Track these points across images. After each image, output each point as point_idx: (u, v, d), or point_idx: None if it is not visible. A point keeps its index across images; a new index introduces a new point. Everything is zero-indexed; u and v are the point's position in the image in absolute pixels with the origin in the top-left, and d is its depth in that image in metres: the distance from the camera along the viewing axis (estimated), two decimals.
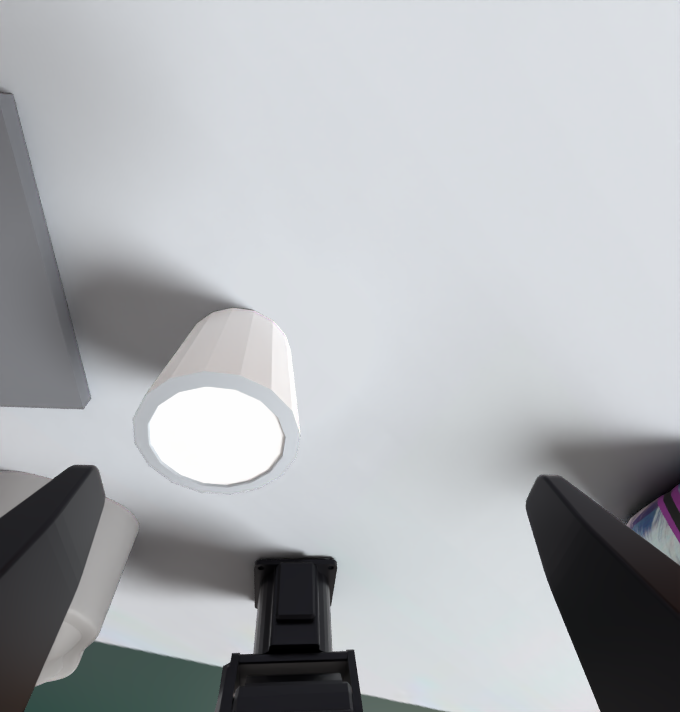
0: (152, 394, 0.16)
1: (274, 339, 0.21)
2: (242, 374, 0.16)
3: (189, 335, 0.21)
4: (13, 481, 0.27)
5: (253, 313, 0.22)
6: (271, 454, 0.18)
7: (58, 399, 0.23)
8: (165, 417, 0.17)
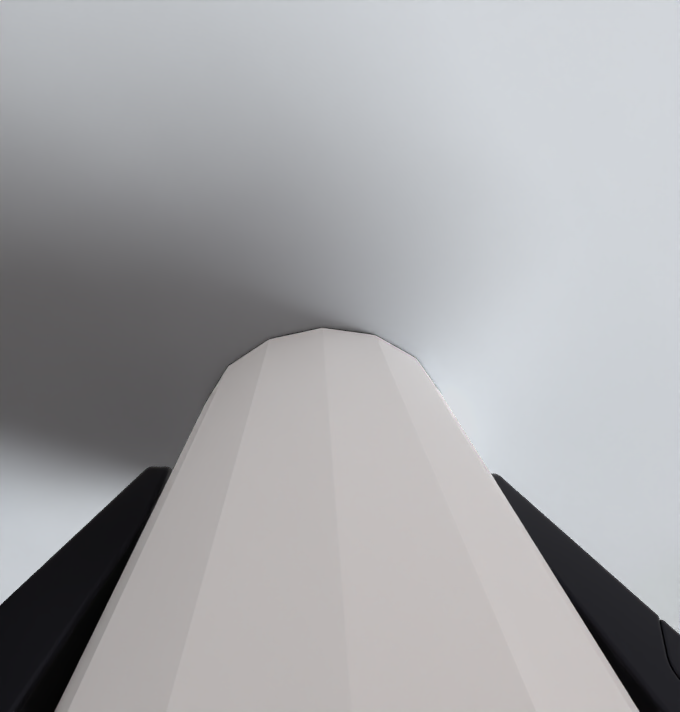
0: None
1: (456, 423, 0.07)
2: None
3: (212, 410, 0.07)
4: None
5: (379, 345, 0.08)
6: None
7: None
8: None
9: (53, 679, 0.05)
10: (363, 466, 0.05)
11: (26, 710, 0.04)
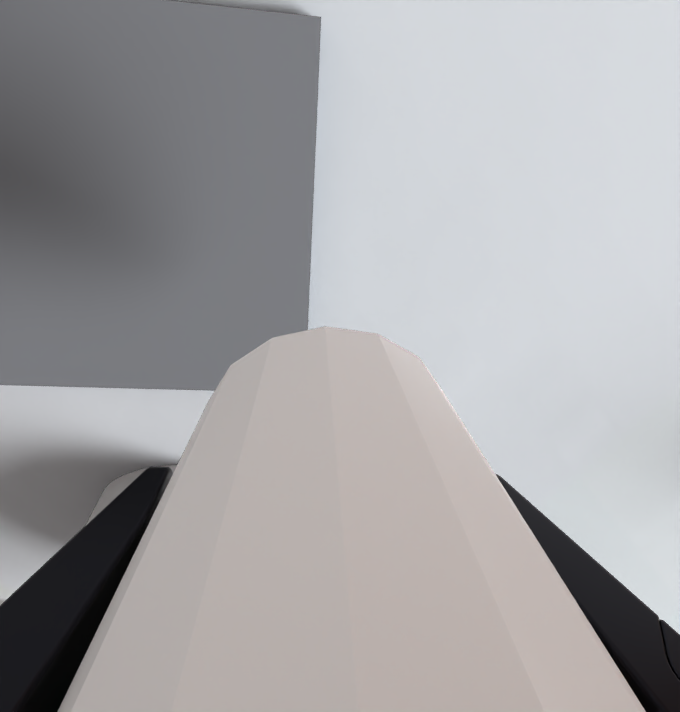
0: None
1: (459, 421, 0.07)
2: None
3: (215, 409, 0.07)
4: None
5: (382, 343, 0.08)
6: None
7: None
8: None
9: (53, 679, 0.05)
10: (367, 464, 0.05)
11: (26, 710, 0.04)
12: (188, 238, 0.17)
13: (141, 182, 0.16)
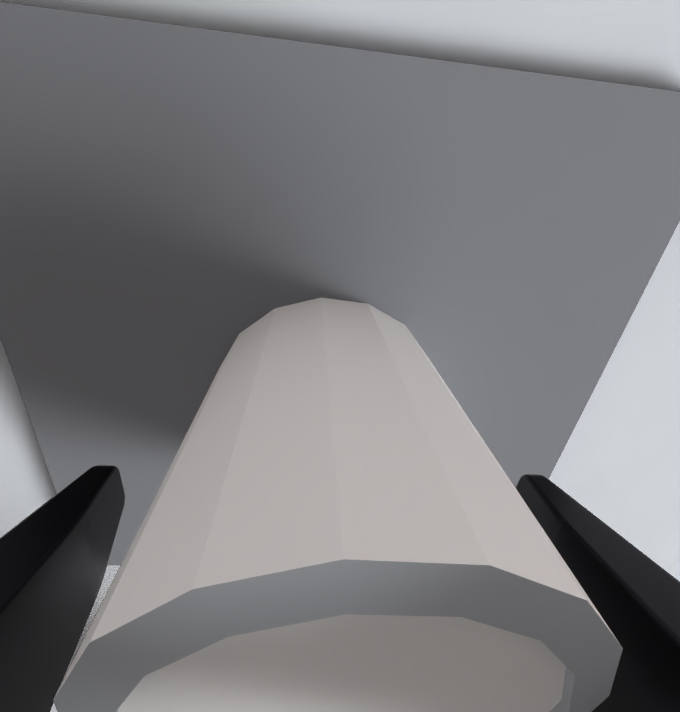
0: (120, 638, 0.04)
1: (437, 373, 0.08)
2: (486, 552, 0.04)
3: (228, 365, 0.09)
4: None
5: (371, 310, 0.09)
6: None
7: None
8: (174, 690, 0.05)
9: None
10: (353, 390, 0.06)
11: None
12: None
13: None
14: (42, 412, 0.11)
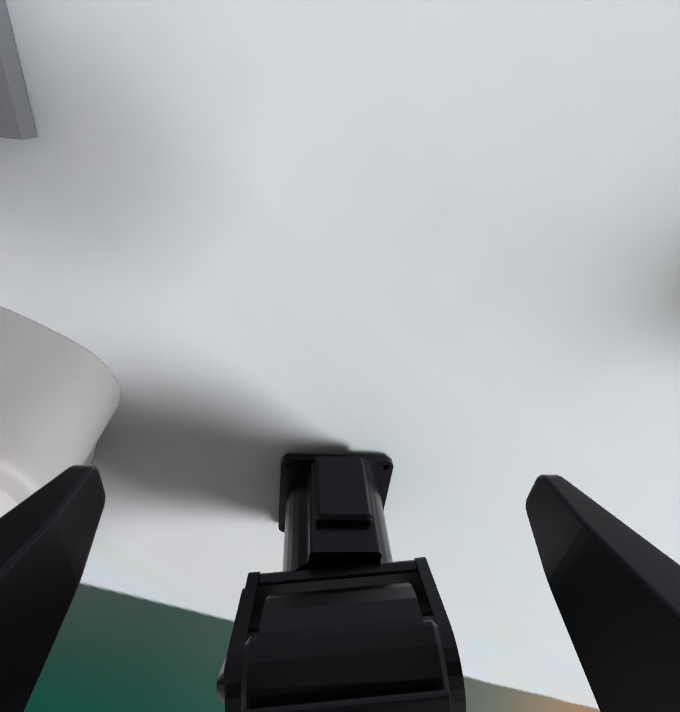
0: None
1: None
2: None
3: None
4: None
5: None
6: None
7: None
8: None
9: None
10: None
11: None
12: None
13: None
14: None
